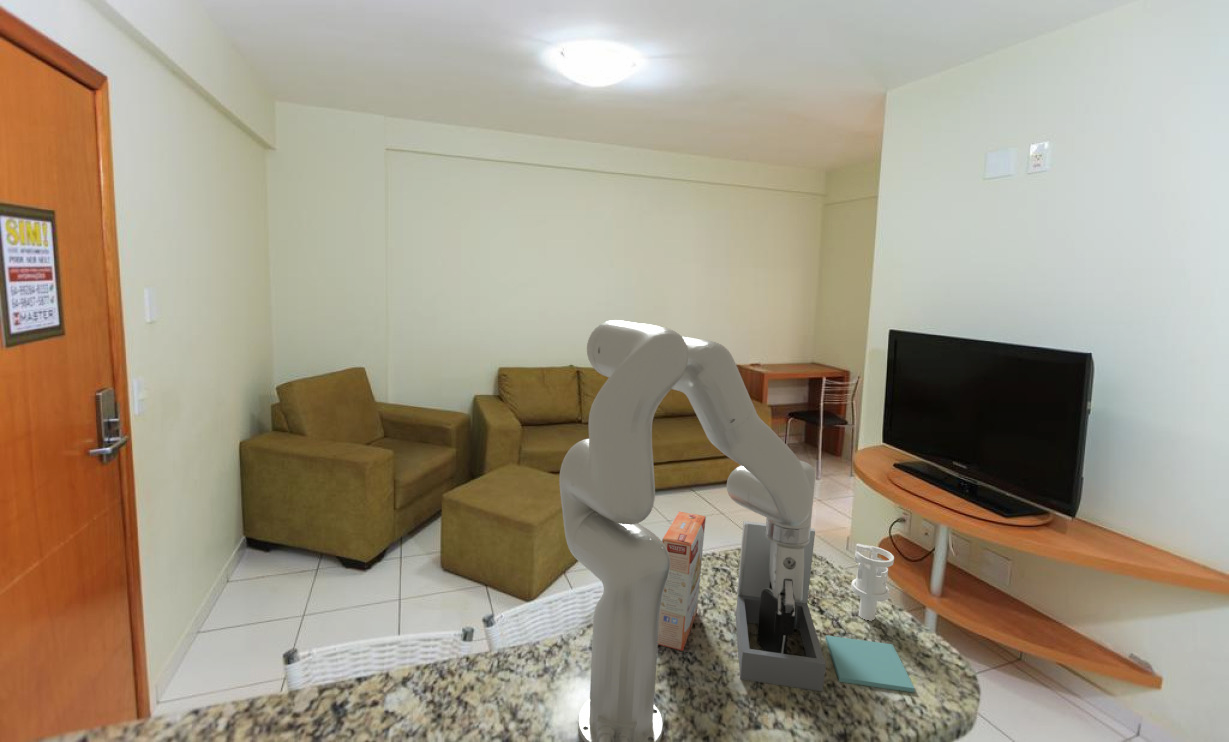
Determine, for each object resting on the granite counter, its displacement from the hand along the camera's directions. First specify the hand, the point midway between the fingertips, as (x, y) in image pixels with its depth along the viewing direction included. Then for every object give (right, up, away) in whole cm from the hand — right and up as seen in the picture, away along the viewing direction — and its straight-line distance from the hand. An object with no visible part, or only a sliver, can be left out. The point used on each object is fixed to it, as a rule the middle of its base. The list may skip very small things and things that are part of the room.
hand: (780, 617), depth 105 cm
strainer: (+22, -6, +13) cm, 26 cm away
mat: (+15, -8, -2) cm, 17 cm away
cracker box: (-18, -5, +6) cm, 20 cm away
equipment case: (-1, -6, +1) cm, 7 cm away
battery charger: (-1, -7, +1) cm, 7 cm away
